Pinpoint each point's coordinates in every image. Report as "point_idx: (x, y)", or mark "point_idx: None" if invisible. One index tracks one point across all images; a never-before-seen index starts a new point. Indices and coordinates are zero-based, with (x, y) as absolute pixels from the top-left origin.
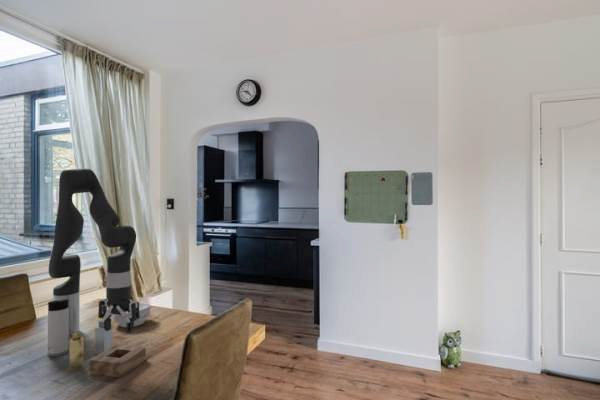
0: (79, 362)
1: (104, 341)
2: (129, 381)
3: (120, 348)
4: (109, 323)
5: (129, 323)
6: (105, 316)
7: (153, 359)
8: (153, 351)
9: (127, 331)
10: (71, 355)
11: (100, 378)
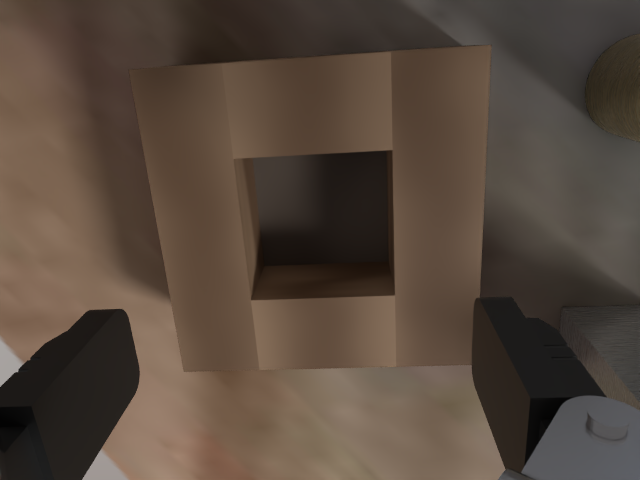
0: (623, 73)
1: (613, 371)
2: (73, 37)
3: (379, 311)
4: (500, 412)
5: (3, 412)
6: (595, 468)
7: (166, 336)
8: (253, 424)
9: (93, 317)
10: None
11: (318, 9)
